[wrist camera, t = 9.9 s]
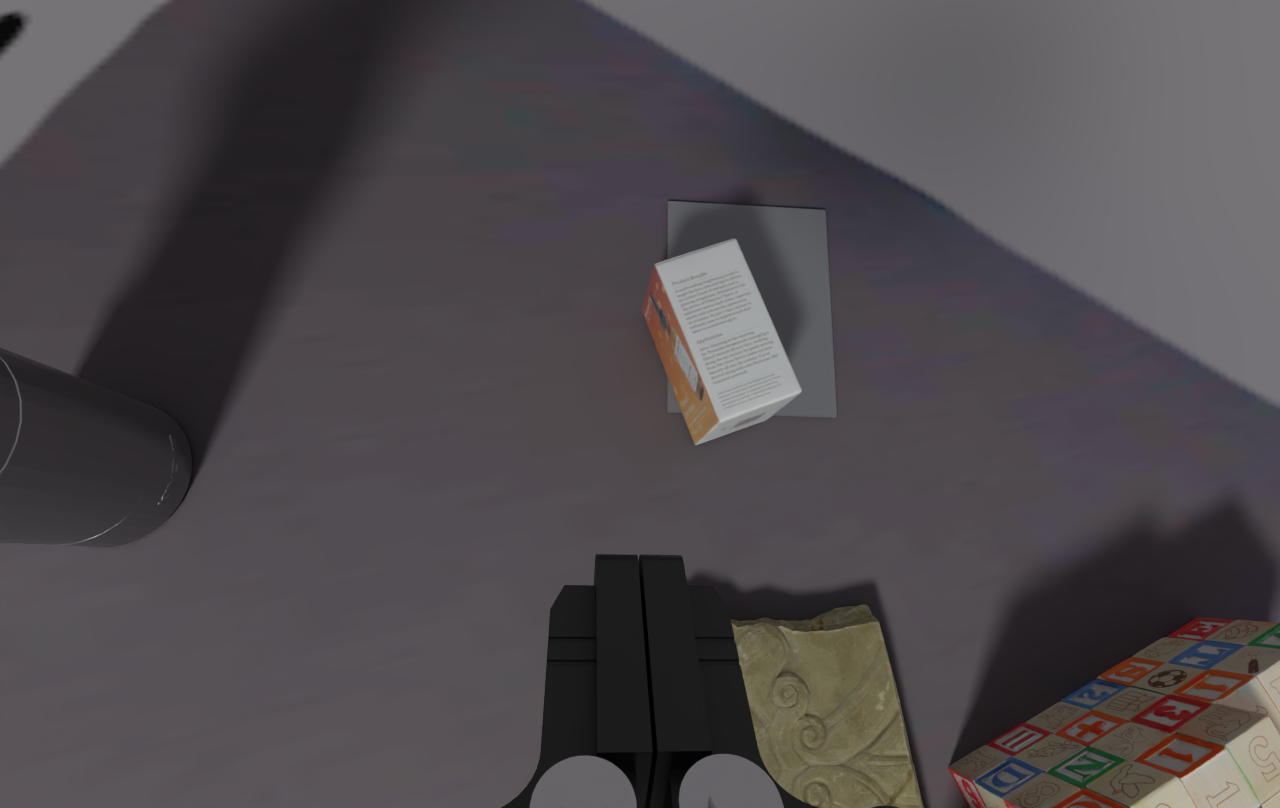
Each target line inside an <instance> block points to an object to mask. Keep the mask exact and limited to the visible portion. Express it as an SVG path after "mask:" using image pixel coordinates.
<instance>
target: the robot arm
mask: <svg viewBox="0 0 1280 808" xmlns="http://www.w3.org/2000/svg"><path fill="white" fill-rule="evenodd" d="M191 474H192V455H191V450H190V445H189V442H188V440H187V438H186V436H185V433H184V431H183V430H182V429H181V428H180V426H179V425H178V424H177V422H176V421H175V420H174V419H172V418H171V417H170V416H169V415H167V414H166V413H165V412H163V411H161V410H159V409H157V408H155V407H153V406H151V405H148V404H145V403H143V402H140V401H138V400H135V399H132V398H130V397H127V396H125V395H122V394H120V393H117V392H115V391H112V390H110V389H107V388H105V387H102V386H99V385H97V384H94V383H91V382H89V381H86V380H84V379H81V378H78V377H76V376H73V375H71V374H68V373H65V372H63V371H60V370H57V369H55V368H52V367H50V366H47V365H44V364H42V363H39V362H37V361H34V360H31V359H29V358H26V357H23V356H21V355H18V354H16V353H13V352H10V351H8V350H5V349H2V348H0V542H1V543H24V544H45V545H64V546H91V547H110V546H116V545H122V544H126V543H129V542H132V541H134V540H137V539H140V538H142V537H144V536H145V535H147V534H149V533H150V532H152V531H154V530H155V529H157V528H158V527H159V526H160V525H161V524H162V523H164V522H165V521H166V520H167V519H168V518H169V517H170V516H171V515H172V513H173V512H174V511H175V510H176V508H177V507H178V506H179V504H180V503H181V501H182V499H183V497H184V495H185V493H186V491H187V489H188V485H189V481H190V478H191ZM734 638H735V637H734V632H733V627H732V623H731V618H730V613H729V610H728V608H727V607H726V605H725V604H724V603H723V601H722V600H721V598H720V597H719V596H718V594H717V593H716V591H715V590H714V589H713V587H712V586H687V582H686V575H685V569H684V562H683V558H682V556H681V555H640V556H639V562H638V557H637V555H605V554H596V556H595V573H594V586H587V585H564V587H563V589H562V590H561V592H560V594H559V595H558V597H557V599H556V601H555V602H554V604H553V606H552V607H551V609H550V622H549V638H548V652H547V667H546V682H545V696H544V711H543V726H542V741H541V753H540V760H539V763H538V766H537V769H536V771H535V773H534V775H533V778H532V779H531V781H530V782H529V784H528V785H527V787H526V788H525V789H524V790H523V791H522V792H521V793H520V794H519V795H518V796H517V797H516V798H515V799H513V800H512V801H511V802H510V803H508V804H506V805H505V806H503V807H502V808H819V807H816V806H813V805H810V804H808V803H805V802H803V801H801V800H799V799H797V798H796V797H794V796H792V795H791V794H790V793H788V792H787V791H786V790H784V789H783V788H782V787H781V786H780V785H779V784H778V783H777V782H776V781H775V780H774V778H773V777H772V776H771V775H770V773H769V772H768V770H767V768H766V767H765V765H764V763H763V761H762V758H761V756H760V752H759V749H758V745H757V740H756V735H755V731H754V726H753V721H752V717H751V712H750V707H749V702H748V698H747V693H746V688H745V684H744V679H743V674H742V670H741V665H739V655H738V651H737V646H736V643H735V641H734ZM872 808H898V807H895V806H886V805H885V806H875V807H872Z"/></svg>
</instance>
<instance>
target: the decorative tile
mask: <svg viewBox="0 0 1280 808" xmlns="http://www.w3.org/2000/svg"><path fill="white" fill-rule="evenodd" d="M731 623H732V627H733V632H734V637H735V638H734V641H735V643H736V646H737V651H738V655H739V665H741V670H742V674H743V679H744V684H745V688H746V693H747V698H748V702H749V707H750V712H751V717H752V721H753V726H754V731H755V735H756V740H757V745H758V749H759V752H760V756H761V758H762V761H763V763H764V765H765V767H766V768H767V770H768V772H769V773H770V775H771V776H772V777H773V778H774V780H775V781H776V782H777V783H778V784H779V785H780V786H781V787H782V788H783V789H784V790H786V791H787V792H788V793H790V794H791V795H792V796H794V797H796V798H797V799H799V800H801V801H803V802H805V803H808V804H810V805H813V806H816V807H819V808H872V807H875V806H885V805H886V806H895V807H898V808H924V806H923V802H922V798H921V794H920V790H919V784H918V780H917V776H916V772H915V767H914V763H913V761H912V756H911V752H910V747H909V741H908V736H907V731H906V727H905V722H904V718H903V713H902V709H901V704H900V700H899V696H898V692H897V688H896V683H895V679H894V675H893V671H892V668H891V664H890V660H889V656H888V652H887V649H886V646H885V642H884V638H883V634H882V630H881V627H880V623H879V621H878V620H877V619H876V618H875V617H874V616H872V613H871V611H870V608H869V607H868V606H867V605H864V604H862V605H857V606H845V607H839V608H834V609H832V610H831V611H828V612H825V613H823V614H820V615H818V616H816V617H815V618H813V619H811V620H802V621H796V620H791V621H785V620H773V619H770V618H767V617H766V618H760V619H757V620H745V621H737V620H734V619H731Z"/></svg>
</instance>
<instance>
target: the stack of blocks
mask: <svg viewBox="0 0 1280 808" xmlns="http://www.w3.org/2000/svg"><path fill="white" fill-rule="evenodd" d="M949 770H950V772H951V774H952V776H953V778H954V780H955V782H956V783H957V785H958V787H959V789H960V791H961V793H962V795H963V797H964V799H965V801H966V802H967V804H968V806H969V808H1280V623H1274V622H1263V621H1251V620H1236V621H1235V620H1228V619H1219V618H1202V617H1197V618H1195V619H1194V620H1192V621H1191V622H1189V623H1187V624H1186V625H1184V626H1183V627H1181V628H1180V629H1178V630H1176V631H1175V632H1173V633H1172V634H1170V635H1168V636H1167V637H1163V638H1161V639H1159V640H1157V641H1156V642H1154V643H1152V644H1151V645H1149V646H1147V647H1146V648H1144V649H1143V650H1141V651H1139V652H1138V653H1136V654H1135V655H1133V656H1132V657H1131V658H1128V659H1126V660H1124V661H1122V662H1121V663H1119V664H1117V665H1116V666H1114V667H1112V668H1111V669H1109V670H1107V671H1106V672H1104V673H1103V674H1101V675H1099V676H1097V678H1096V680H1093V681H1091V682H1090V683H1088V684H1087V685H1085V686H1084V687H1082V688H1080V689H1078V690H1077V691H1075V692H1074V693H1072V694H1070V695H1069V696H1067V697H1065V698H1063V699H1062V700H1061V701H1060V702H1058V703H1056V704H1054V705H1053V706H1051V707H1049V708H1048V709H1046V710H1045V711H1043V712H1041V713H1040V714H1038V715H1036V716H1035V717H1033V718H1031V719H1030V720H1028V721H1027V722H1025V723H1021V724H1019V725H1018V726H1016V727H1014V728H1012V729H1011V730H1009V731H1008V732H1006V733H1004V734H1003V735H1001V736H999V737H998V738H996V739H994V740H993V741H991V742H989V743H988V744H986V745H984V746H982V747H980V748H978V749H977V750H975V751H973V752H972V753H970V754H968V755H967V756H965V757H963V758H962V759H960V760H958V761H957V762H955V763H953V764H952V765H950V766H949Z"/></svg>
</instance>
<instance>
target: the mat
mask: <svg viewBox="0 0 1280 808" xmlns="http://www.w3.org/2000/svg"><path fill="white" fill-rule="evenodd" d="M730 239H736V240H737V241H738V244H739V246H740V248H741V251H742V253H743V255H744V257H745V260H746V262H747V264H748V267H749V269H750V271H751V274H752V276H753V278H754V281H755V283H756V285H757V287H758V290H759V292H760V294H761V297H762V299H763V301H764V303H765V306H766V308H767V310H768V313H769V315H770V317H771V320H772V322H773V324H774V327H775V329H776V331H777V333H778V336H779V338H780V340H781V343H782V345H783V347H784V350H785V352H786V354H787V356H788V359H789V361H790V363H791V366H792V368H793V370H794V373H795V375H796V377H797V380H798V382H799V384H800V386H801V389H802V392H801V393H800V394H799V395H798V396H796V397H795V398H794V399H793V400H791V401H790V402H789V403H787V404H786V405H785V406H784V407H782V408H781V409H780V410H778V411H777V412H776V413H775V414H774V415H772V416H792V417H825V418H836V417H837V406H836V388H835V370H834V352H833V334H832V317H831V299H830V281H829V263H828V245H827V227H826V210H817V209H800V208H783V207H765V206H748V205H731V204H713V203H696V202H679V201H668V203H667V259H670V258H674V257H677V256H680V255H683V254H686V253H689V252H692V251H695V250H698V249H702V248H705V247H708V246H711V245H714V244H717V243H720V242H723V241H727V240H730ZM667 413H682V411H681V409H680V406H679V404H678V401H677V399H676V396H675V394H674V391H673V388H672V386H671V383H670V381H669V378H668V376H667Z"/></svg>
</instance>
